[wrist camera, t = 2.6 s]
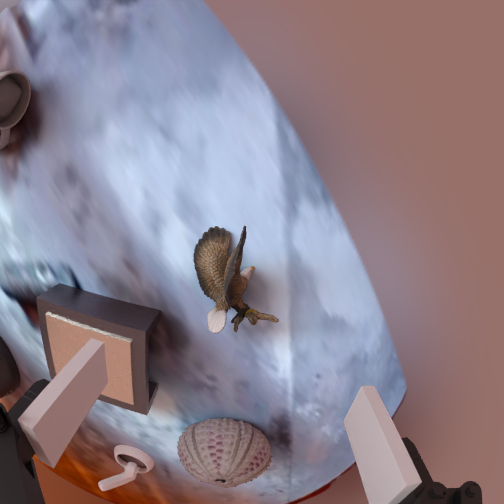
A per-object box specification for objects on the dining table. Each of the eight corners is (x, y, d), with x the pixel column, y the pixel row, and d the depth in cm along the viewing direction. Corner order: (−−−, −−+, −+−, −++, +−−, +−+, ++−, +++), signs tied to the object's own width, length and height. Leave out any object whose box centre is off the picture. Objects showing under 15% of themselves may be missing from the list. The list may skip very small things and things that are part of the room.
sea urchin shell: (270, 408, 33) (273, 454, 25) (272, 461, 36) (274, 500, 28) (171, 408, 33) (157, 450, 26) (190, 461, 36) (183, 498, 29)
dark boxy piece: (157, 390, 32) (146, 416, 27) (68, 360, 32) (50, 380, 27) (160, 310, 30) (144, 333, 25) (59, 283, 29) (34, 298, 24)
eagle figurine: (294, 294, 28) (262, 212, 25) (264, 347, 23) (218, 257, 20) (234, 294, 33) (200, 225, 29) (199, 338, 27) (154, 263, 24)
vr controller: (78, 445, 30) (101, 474, 27) (133, 430, 40) (159, 453, 37) (81, 472, 30) (104, 499, 27) (132, 456, 40) (156, 478, 37)
